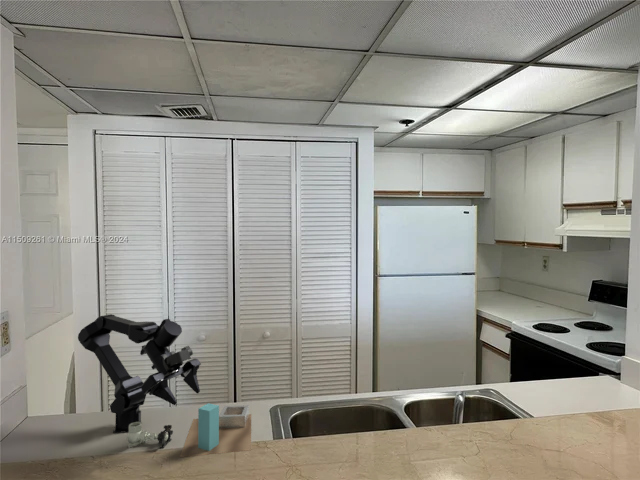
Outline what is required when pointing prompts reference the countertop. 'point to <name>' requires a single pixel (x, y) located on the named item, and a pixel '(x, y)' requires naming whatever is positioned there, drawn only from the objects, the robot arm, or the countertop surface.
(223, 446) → the board
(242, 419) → the collar
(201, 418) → the block
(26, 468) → the countertop surface
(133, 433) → the valve
